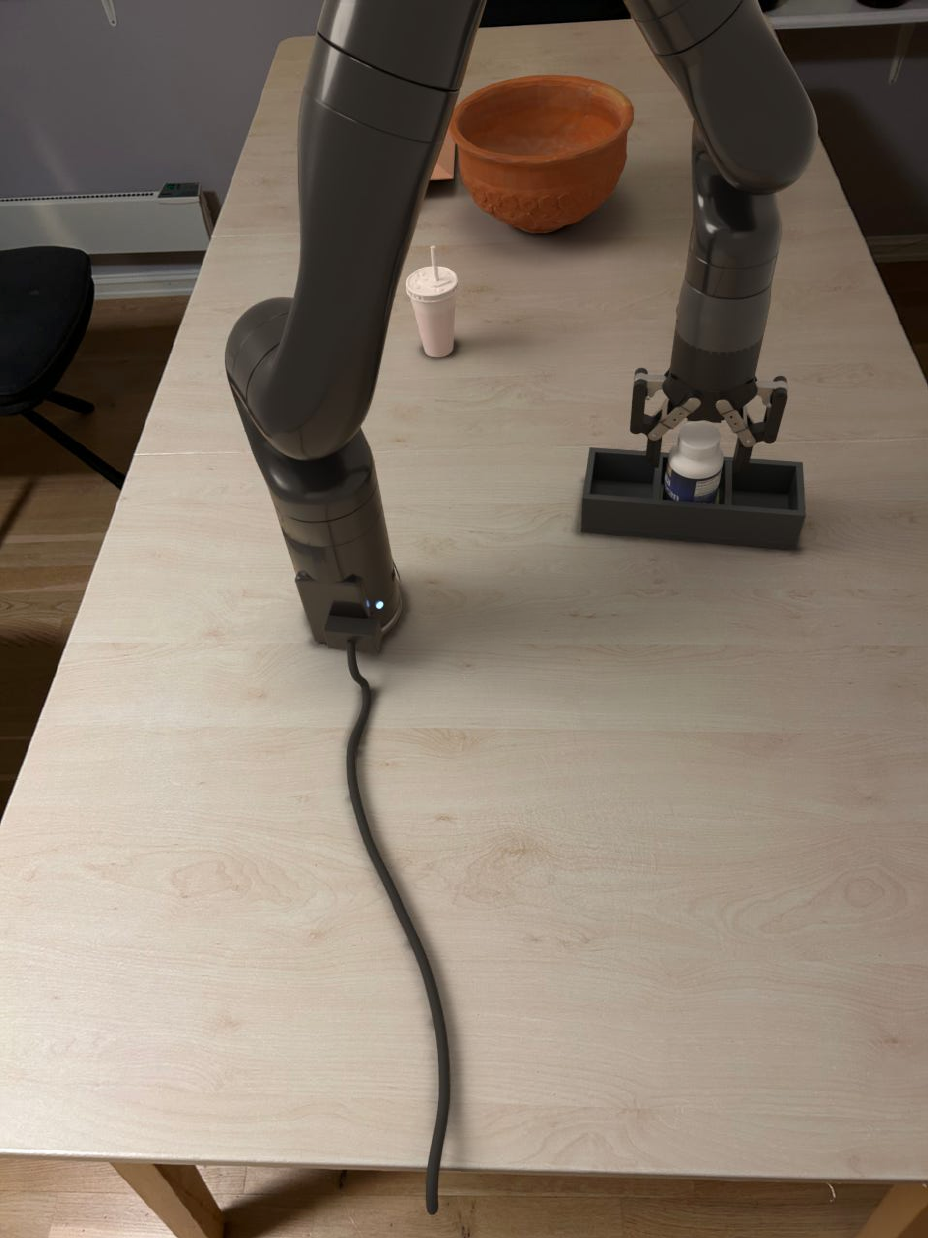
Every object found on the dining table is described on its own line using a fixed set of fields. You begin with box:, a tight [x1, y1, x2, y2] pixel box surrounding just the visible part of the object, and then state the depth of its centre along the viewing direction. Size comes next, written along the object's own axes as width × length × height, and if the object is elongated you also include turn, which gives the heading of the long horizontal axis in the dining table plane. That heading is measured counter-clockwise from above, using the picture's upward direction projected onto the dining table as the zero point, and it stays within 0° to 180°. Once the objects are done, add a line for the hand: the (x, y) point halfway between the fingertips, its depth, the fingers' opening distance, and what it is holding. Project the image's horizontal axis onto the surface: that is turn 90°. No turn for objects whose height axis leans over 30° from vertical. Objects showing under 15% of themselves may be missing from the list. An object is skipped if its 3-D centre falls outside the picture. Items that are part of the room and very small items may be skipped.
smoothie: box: [405, 245, 460, 358], centre depth 114 cm, size 6×6×14 cm
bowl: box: [448, 74, 635, 234], centre depth 131 cm, size 25×25×15 cm
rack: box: [580, 446, 807, 551], centre depth 97 cm, size 8×22×5 cm, turn 80°
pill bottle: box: [662, 420, 725, 504], centre depth 94 cm, size 5×5×10 cm
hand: (695, 464), depth 93 cm, fingers open, 7 cm apart
